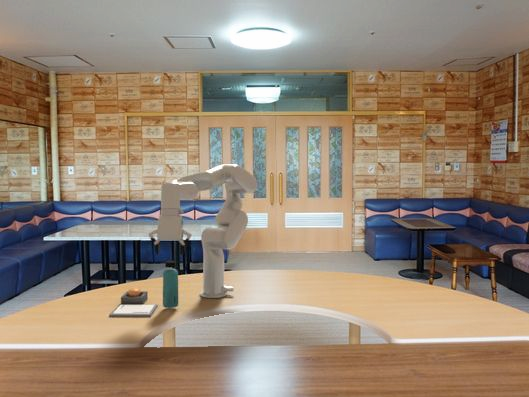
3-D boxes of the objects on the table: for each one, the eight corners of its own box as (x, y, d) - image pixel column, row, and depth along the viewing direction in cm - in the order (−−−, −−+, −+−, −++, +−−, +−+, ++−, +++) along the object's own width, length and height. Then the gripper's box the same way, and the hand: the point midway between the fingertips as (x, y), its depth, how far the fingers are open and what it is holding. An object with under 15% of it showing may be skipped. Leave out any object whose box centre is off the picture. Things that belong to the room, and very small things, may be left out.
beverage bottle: (174, 312, 175) (175, 263, 173) (159, 311, 176) (159, 262, 175) (181, 307, 181) (181, 260, 180) (166, 306, 182) (166, 259, 181)
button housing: (147, 299, 192) (147, 291, 191) (142, 305, 183) (142, 297, 182) (126, 299, 191) (126, 291, 191) (121, 305, 182) (120, 297, 182)
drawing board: (157, 306, 182) (157, 303, 182) (150, 316, 169) (150, 314, 169) (119, 306, 181) (119, 303, 181) (109, 316, 168) (109, 314, 168)
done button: (141, 293, 189) (141, 288, 189) (139, 297, 184) (138, 291, 184) (130, 293, 189) (130, 288, 189) (127, 297, 184) (127, 291, 184)
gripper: (193, 212, 180) (192, 253, 181) (151, 211, 179) (150, 252, 180) (190, 213, 172) (189, 256, 173) (146, 212, 172) (146, 255, 173)
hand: (169, 254), depth 177 cm, fingers open, 9 cm apart
